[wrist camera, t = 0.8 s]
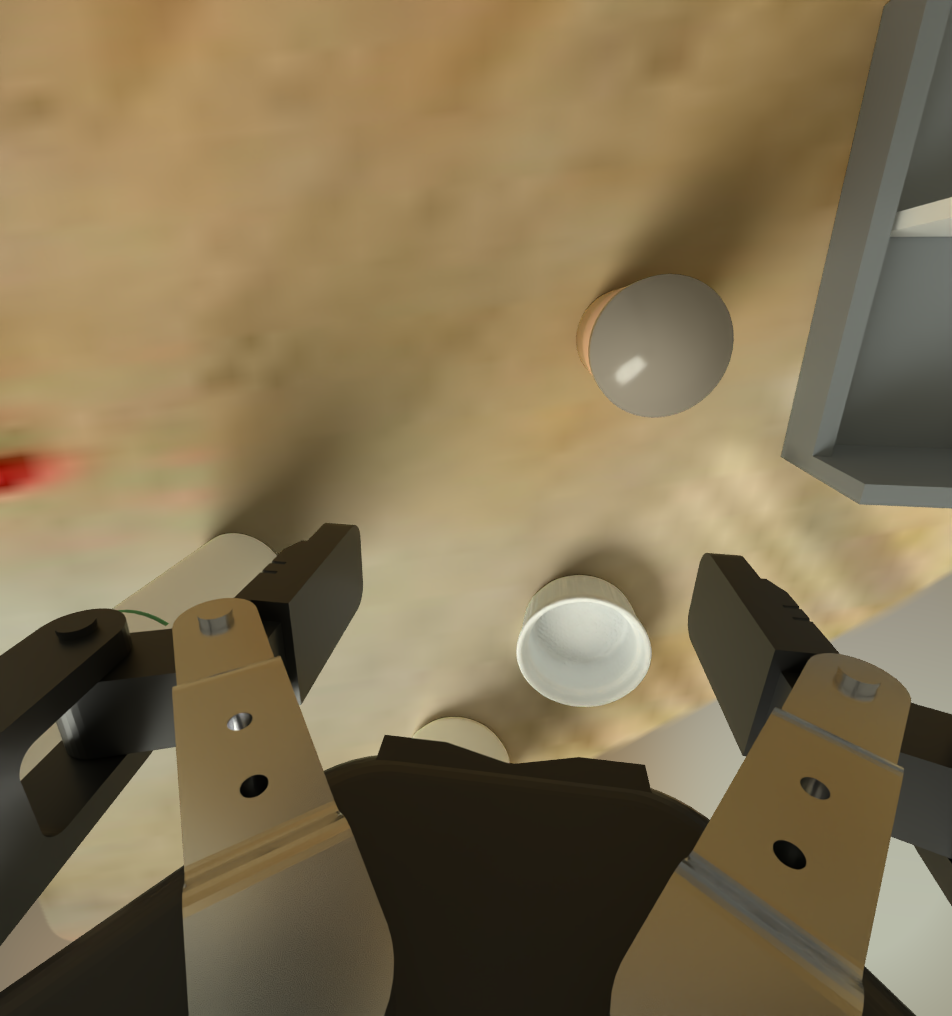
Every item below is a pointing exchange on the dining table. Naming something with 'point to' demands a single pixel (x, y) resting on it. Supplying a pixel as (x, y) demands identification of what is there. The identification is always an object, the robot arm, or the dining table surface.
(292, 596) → the robot arm
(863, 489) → the lane
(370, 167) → the dining table surface
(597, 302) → the jar
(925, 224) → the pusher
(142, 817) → the dining table surface
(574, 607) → the ramekin
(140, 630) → the cylindrical container
